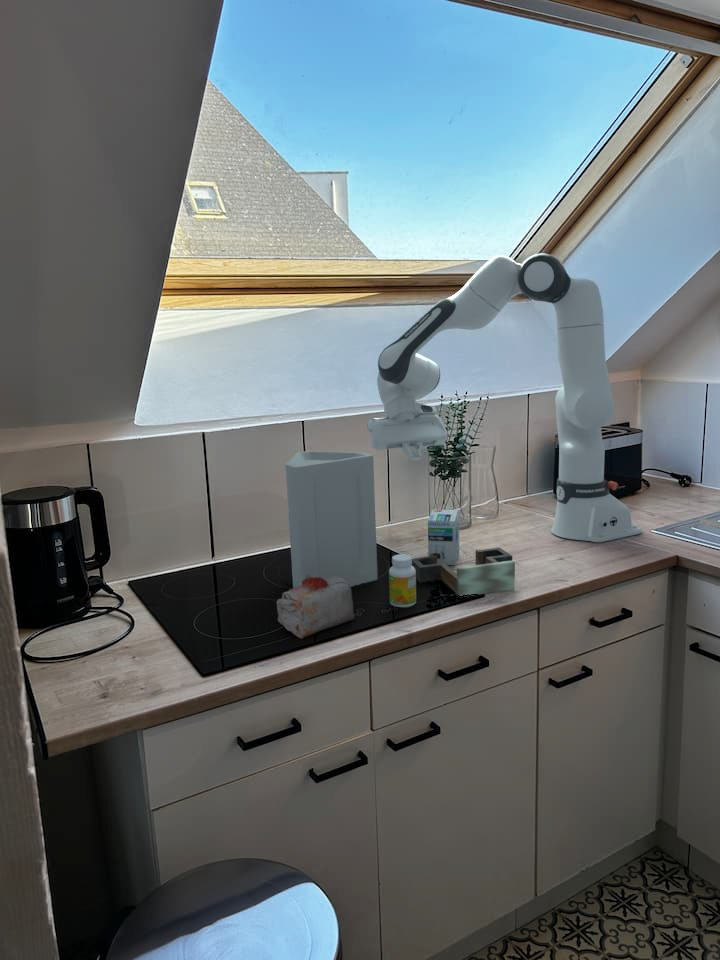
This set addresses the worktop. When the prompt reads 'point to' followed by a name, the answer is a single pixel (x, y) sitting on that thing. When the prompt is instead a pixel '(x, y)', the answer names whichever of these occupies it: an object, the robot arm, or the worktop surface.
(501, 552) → the box
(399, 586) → the supplement bottle
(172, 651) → the worktop surface
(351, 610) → the food item
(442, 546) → the light bulb box
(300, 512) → the grey triangular bin
